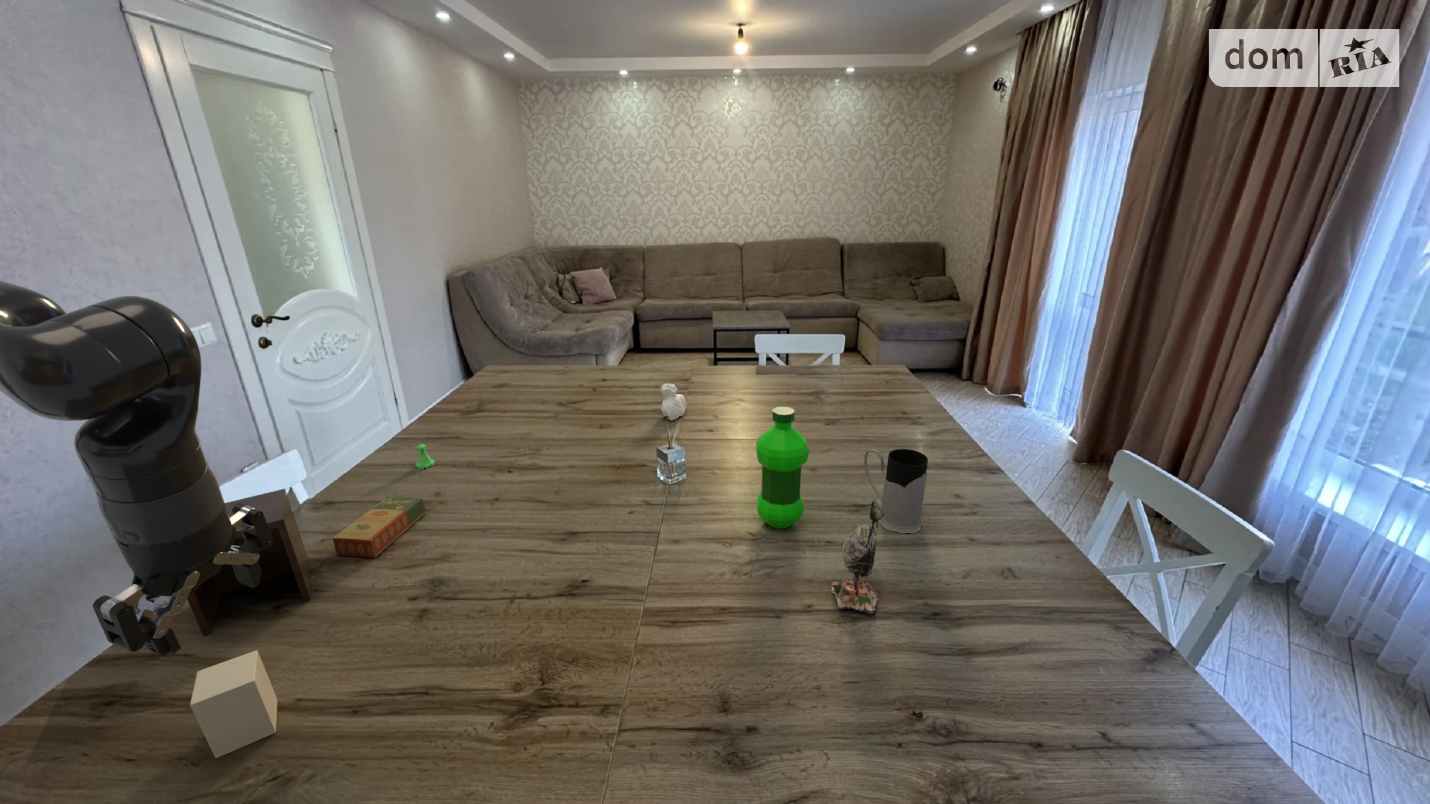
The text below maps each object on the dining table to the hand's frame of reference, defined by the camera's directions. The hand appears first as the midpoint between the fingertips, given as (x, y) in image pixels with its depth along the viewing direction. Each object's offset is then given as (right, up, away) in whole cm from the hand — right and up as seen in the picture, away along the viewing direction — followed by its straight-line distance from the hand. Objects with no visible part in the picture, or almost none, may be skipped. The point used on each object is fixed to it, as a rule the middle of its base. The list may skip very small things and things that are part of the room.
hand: (211, 614), depth 59 cm
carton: (-14, -4, +54) cm, 56 cm away
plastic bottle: (+67, -2, +56) cm, 88 cm away
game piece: (-20, +6, +81) cm, 84 cm away
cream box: (-7, -20, +13) cm, 25 cm away
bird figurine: (+78, -10, +36) cm, 86 cm away
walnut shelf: (-25, -11, +36) cm, 45 cm away
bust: (+41, +18, +111) cm, 120 cm away
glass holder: (+90, -2, +58) cm, 107 cm away
